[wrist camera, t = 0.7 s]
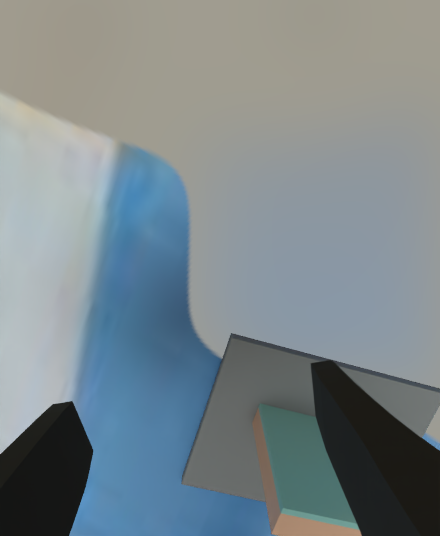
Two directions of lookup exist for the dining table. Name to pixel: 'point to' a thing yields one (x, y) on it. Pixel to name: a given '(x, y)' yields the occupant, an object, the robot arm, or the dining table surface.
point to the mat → (281, 396)
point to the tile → (299, 477)
